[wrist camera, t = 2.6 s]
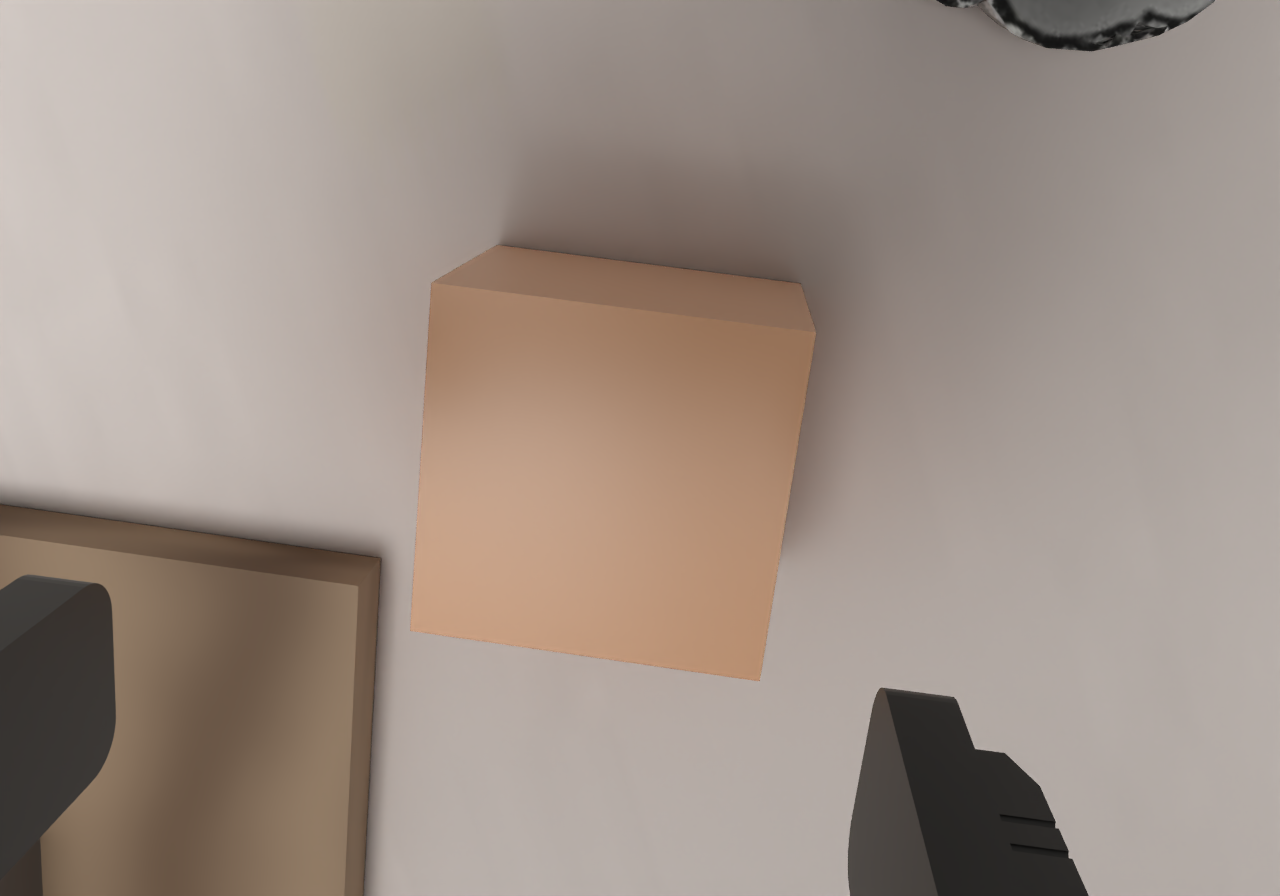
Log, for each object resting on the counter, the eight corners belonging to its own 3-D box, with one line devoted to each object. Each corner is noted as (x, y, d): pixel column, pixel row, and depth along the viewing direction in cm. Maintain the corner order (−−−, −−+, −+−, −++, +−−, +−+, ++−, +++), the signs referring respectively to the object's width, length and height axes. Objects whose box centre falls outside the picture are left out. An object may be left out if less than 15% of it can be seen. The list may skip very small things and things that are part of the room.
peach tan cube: (801, 283, 22) (816, 332, 18) (756, 567, 24) (760, 680, 19) (497, 244, 23) (431, 282, 18) (475, 527, 24) (409, 630, 20)
